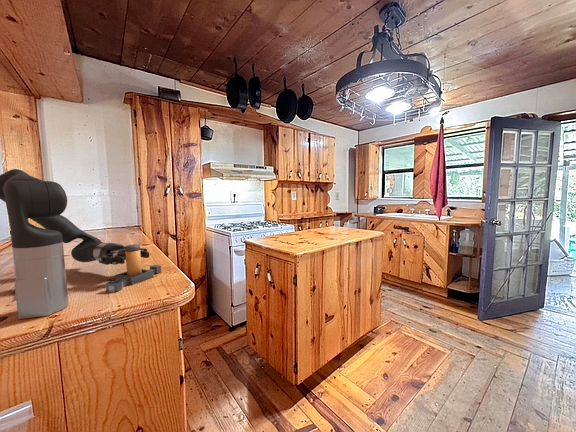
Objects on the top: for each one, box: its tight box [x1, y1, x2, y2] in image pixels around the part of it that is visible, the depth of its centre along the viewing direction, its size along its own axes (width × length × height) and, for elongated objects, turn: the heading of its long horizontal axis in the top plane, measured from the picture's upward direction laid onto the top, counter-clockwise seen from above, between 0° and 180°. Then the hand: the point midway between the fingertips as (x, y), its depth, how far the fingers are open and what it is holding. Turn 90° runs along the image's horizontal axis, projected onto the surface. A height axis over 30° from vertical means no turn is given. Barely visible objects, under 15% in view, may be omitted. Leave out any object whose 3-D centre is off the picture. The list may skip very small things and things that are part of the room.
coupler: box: [124, 244, 143, 276], centre depth 89 cm, size 4×4×12 cm
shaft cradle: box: [105, 264, 162, 293], centre depth 88 cm, size 20×10×3 cm, turn 157°
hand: (136, 257), depth 88 cm, fingers open, 8 cm apart
